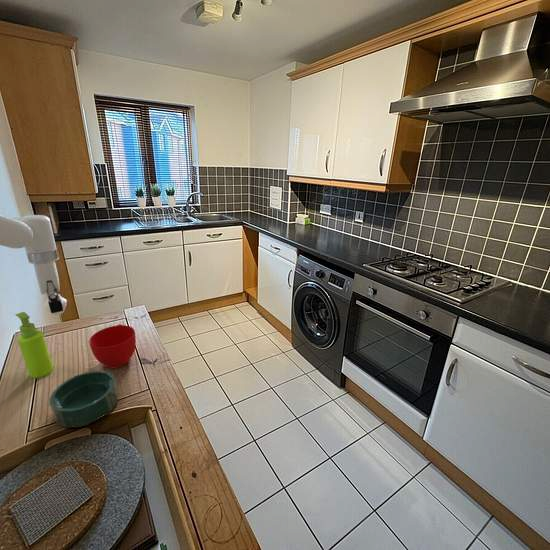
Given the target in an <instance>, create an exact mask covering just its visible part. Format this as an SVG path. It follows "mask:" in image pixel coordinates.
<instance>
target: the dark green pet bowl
mask: <svg viewBox="0 0 550 550" xmlns="http://www.w3.org/2000/svg"><path fill="white" fill-rule="evenodd" d="M119 396H120V395H119V391H118V385H117V381H116V378H115V375H114V374H112V373H111V372H110V371H105V370H90V371H85V372H83V373H82V372H81V373H80V374H76V375H75V376H73V377H70V378H68V379H67V380H64V381H63V382H62V383H61V384H60V385H58V386H57V387H56V388H55V389H54V390H53V391H52V393H51V395H50V397H49V407H50V410H51V412H52V415H53V419H54V421H55V423H57V424H58V426H60V427H63V428H66V427H73V426H74V427H77V428H81V427H85V426H88V425H91V424H92V423H91V422H92V421H93V420H95V419H97V418H99V417H101V416H103V415H105V414H107V413H108V414H109V413H110V412H111V411H112V410H113V409H114V408H115V406H116V404H117V403H118V400H119ZM108 414H107V415H108ZM105 416H106V415H105ZM90 423H91V424H90Z"/></svg>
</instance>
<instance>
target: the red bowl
mask: <svg viewBox="0 0 550 550" xmlns="http://www.w3.org/2000/svg"><path fill="white" fill-rule="evenodd" d="M136 336H137V335H136V331H135V328H133V327H132V326H130V325H125V324H124V325H123V324H121V323H119V324H116V325H112V326H108V327H105V328H103V329H101V330H98V331H96V332H95V333H93V334H92V335H91V337H90V339H89V342H88V343H89V347H90V350H91V352H92V354H93V356H94V358H95V359H96V360H97V361H98V362H99V363H100V364H101V365H103V366H106V367H108V368H110V369H116V368H120V367H123V366H125V365H126V364H127V363H129V361H130V359H131V358H132V357H133V355H134V353H135V350H136V345H137V337H136Z"/></svg>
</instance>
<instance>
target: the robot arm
mask: <svg viewBox="0 0 550 550" xmlns="http://www.w3.org/2000/svg"><path fill="white" fill-rule="evenodd" d="M0 246H1V247H2V246H3V247H6V248H9V249H24V250H25V254H26V257H27V260H28V261H27V262H28V263H29V264H32V265H33V267H34V272H35V275H36V280H37V283H38V288H39V291H40V292H39V293H40V294H41V295H45V294H46V295H47V297H48V300H49V302H48V303H49V307H50V311H51V313H56V312H61V311H63V307H62V303H61V299H59V295H58V294H60V291H61V288H60V286H61V285H60V278H59V272H58V269H57V263H56V261H59V259H60V256H59V252H58V248H57V243H56V241H55V236H54V232H53V228H52V224H51V220H50V218H49V217H48V216H47V215H43V214H31V215H30V214H29V215H24V216H23V215H22V216H20V217H8V216H6V215H2V214H0ZM55 293H56V295H55ZM51 313H50V314H51Z"/></svg>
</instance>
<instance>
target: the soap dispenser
mask: <svg viewBox="0 0 550 550" xmlns="http://www.w3.org/2000/svg"><path fill="white" fill-rule="evenodd" d="M14 315H15V317H17V318H18V319H19V320H20V322H21V325H20V326H19V331H20V336H18V337H17V338H16V339H17V343H18V347H19V348H20V351H21V355H22V357H23V360H24V362H25V364H26V365H25V367H26V369H27V371H28V373H29V374H28V375H29V377H30V378H32V379H38V378H42V377H45V376H47V375H49V374H51V373H52V372H53V370H54V365H53V361H52V358H51V355H50V352H49V349H48V346H47V342H46V339H45V336H44V333H43V331H41V330H37V329H36V325H35V323H33V322H30V320H29V319H30V318H31V317H30V315H28V313H27V312H26V311H22V312H17V313H15V314H14Z"/></svg>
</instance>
